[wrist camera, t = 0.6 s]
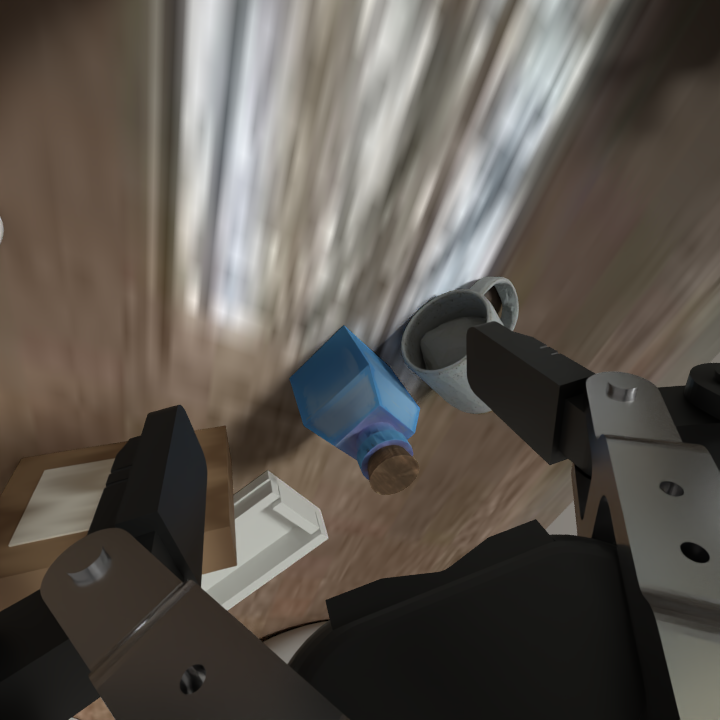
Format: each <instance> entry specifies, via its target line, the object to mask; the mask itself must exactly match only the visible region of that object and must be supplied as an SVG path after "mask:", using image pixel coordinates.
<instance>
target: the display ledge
mask: <svg viewBox="0 0 720 720" xmlns="http://www.w3.org/2000/svg"><path fill="white" fill-rule="evenodd" d="M233 498H234V516H235V534H236V552H237V566H234V567H230V568H226V569H222V570H218V571H214V572H211V573H207V574H203V575H202V580H201V588H202V589H203V590H204V591H205V592H207V593H208V594H209V595H210V596H211V597H212V598H213V599H215V600H216V601H217V602H218V603H219V604H220V605H221V606H222V607H224V608H225V609H226V610H229V609H230V608H232V607H233V606H234V605H236V604H237V603H239V602H240V601H241V600H243V599H244V598H246V597H247V596H248V595H250V594H251V593H253V592H254V591H255V590H257V589H258V588H260V587H261V586H262V585H264V584H265V583H267V582H268V581H269V580H271V579H272V578H274V577H275V576H276V575H278V574H279V573H281V572H282V571H283V570H285V569H286V568H288V567H289V566H290V565H292V564H293V563H295V562H296V561H297V560H299V559H300V558H302V557H303V556H304V555H306V554H307V553H309V552H310V551H312V550H313V549H314V548H316V547H317V546H319V545H320V544H321V543H323V542H324V541H326V540H327V539H328V535H327V531H326V528H325V524H324V521H323V517H322V513H321V510H320V509H319V508H318V507H316V506H315V505H314V504H312V503H311V502H310V501H308V500H307V499H306V498H304V497H303V496H302V495H300V494H299V493H298V492H296V491H295V490H294V489H292V488H291V487H290V486H288V485H287V484H286V483H284V482H283V481H282V480H280V479H279V478H278V477H276V476H275V475H274V474H272V473H271V472H270V471H268V470H267V471H266V472H265V473H263V474H262V475H261V476H259V477H258V478H256V479H255V480H254V481H252V482H251V483H250V484H248V485H247V486H246V487H244V488H243V489H241V490H240V491H239V492H237V493H236V494H235V495H233Z"/></svg>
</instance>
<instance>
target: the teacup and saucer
mask: <svg viewBox="0 0 720 720" xmlns="http://www.w3.org/2000/svg"><path fill="white" fill-rule="evenodd" d="M3 232H4V229H3V223H2V220H1V217H0V243H1V240H2V238H3Z"/></svg>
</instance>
